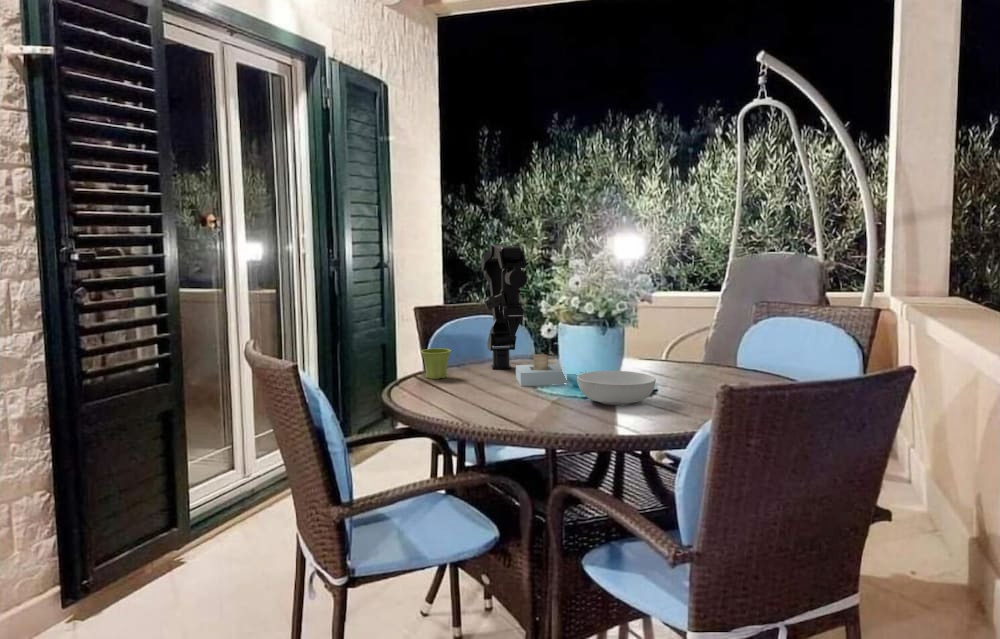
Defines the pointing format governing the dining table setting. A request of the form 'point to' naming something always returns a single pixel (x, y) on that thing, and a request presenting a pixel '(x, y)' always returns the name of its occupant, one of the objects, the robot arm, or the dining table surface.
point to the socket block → (539, 375)
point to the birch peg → (540, 362)
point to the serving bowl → (616, 386)
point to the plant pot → (436, 362)
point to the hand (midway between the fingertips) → (511, 335)
